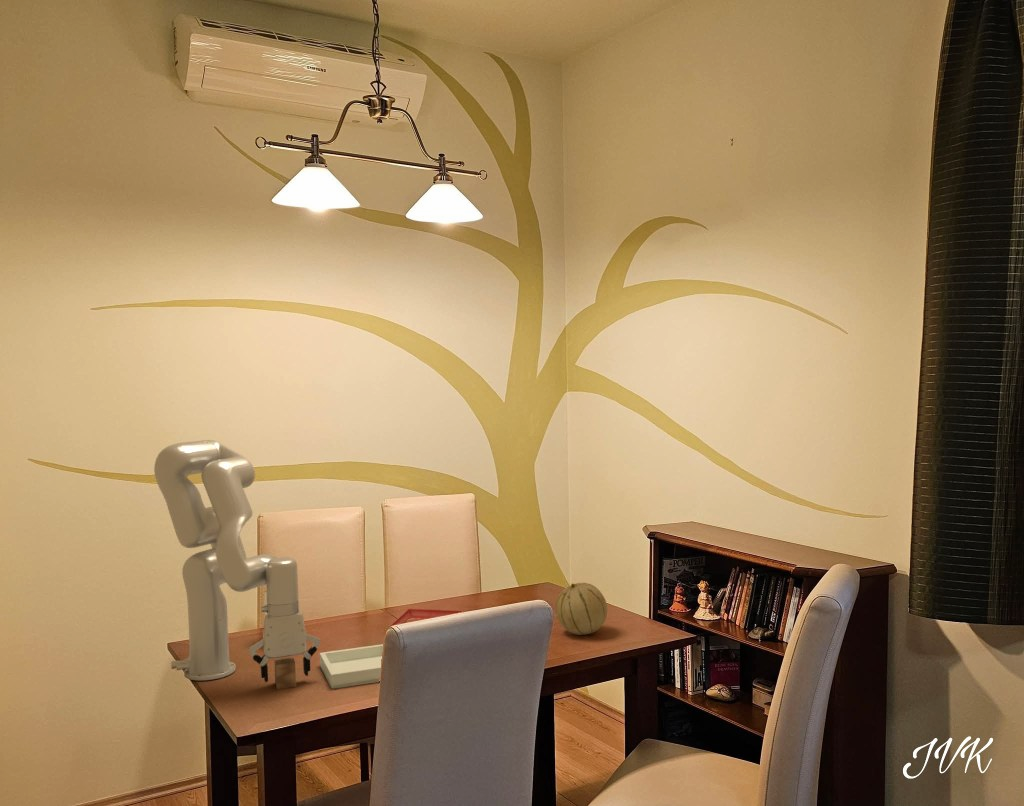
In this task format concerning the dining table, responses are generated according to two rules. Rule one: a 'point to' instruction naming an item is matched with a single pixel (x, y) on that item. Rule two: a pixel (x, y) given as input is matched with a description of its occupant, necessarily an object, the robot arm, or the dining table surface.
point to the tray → (352, 666)
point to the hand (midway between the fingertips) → (286, 677)
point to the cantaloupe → (581, 608)
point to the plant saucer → (421, 614)
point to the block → (285, 672)
